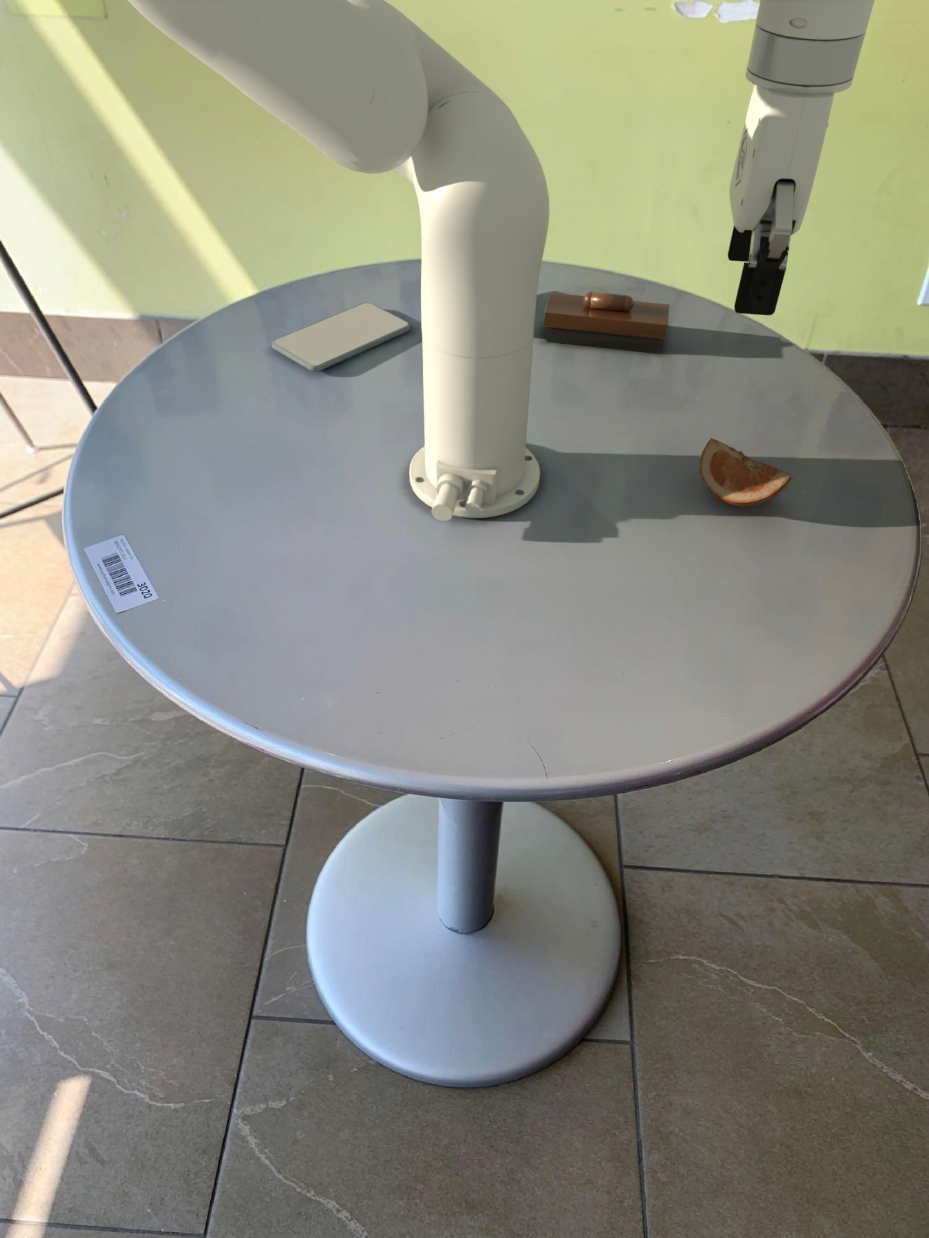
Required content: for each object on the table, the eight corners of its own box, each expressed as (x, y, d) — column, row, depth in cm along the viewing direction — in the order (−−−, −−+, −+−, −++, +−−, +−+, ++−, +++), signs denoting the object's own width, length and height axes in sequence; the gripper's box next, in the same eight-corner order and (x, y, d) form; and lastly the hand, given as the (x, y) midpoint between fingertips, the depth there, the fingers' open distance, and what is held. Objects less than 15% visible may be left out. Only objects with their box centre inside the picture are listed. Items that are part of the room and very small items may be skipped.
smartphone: (413, 324, 107) (314, 368, 100) (413, 331, 108) (314, 376, 100) (366, 300, 111) (267, 341, 104) (367, 307, 112) (269, 349, 104)
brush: (662, 355, 105) (670, 310, 101) (542, 342, 106) (545, 298, 102) (663, 334, 108) (671, 290, 104) (547, 322, 110) (551, 278, 106)
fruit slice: (793, 501, 86) (807, 458, 82) (757, 535, 82) (772, 491, 79) (716, 465, 90) (727, 423, 86) (679, 496, 86) (689, 453, 83)
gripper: (742, 24, 71) (701, 240, 84) (759, 91, 59) (708, 332, 72) (840, 27, 71) (784, 245, 83) (877, 97, 59) (805, 339, 71)
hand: (749, 285), depth 77 cm, fingers open, 9 cm apart
